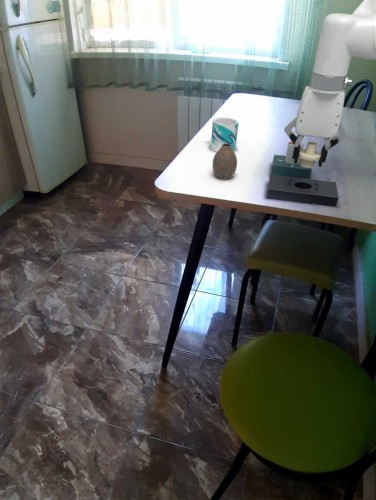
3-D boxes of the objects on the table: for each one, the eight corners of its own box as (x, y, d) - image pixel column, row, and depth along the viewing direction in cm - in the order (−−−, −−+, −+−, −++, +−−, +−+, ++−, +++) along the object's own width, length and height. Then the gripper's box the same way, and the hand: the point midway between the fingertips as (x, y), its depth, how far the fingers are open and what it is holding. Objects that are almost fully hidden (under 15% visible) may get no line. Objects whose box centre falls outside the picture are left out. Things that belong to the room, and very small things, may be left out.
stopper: (317, 162, 108) (323, 141, 104) (318, 170, 104) (324, 148, 100) (296, 160, 108) (300, 138, 105) (296, 168, 104) (301, 146, 101)
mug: (208, 150, 133) (210, 123, 127) (214, 139, 141) (217, 112, 136) (233, 153, 132) (236, 125, 126) (238, 141, 140) (241, 115, 135)
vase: (214, 181, 115) (217, 149, 109) (209, 172, 120) (211, 140, 114) (238, 181, 116) (242, 149, 110) (232, 171, 121) (235, 140, 115)
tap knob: (299, 159, 122) (304, 141, 118) (300, 165, 119) (304, 146, 115) (284, 158, 122) (288, 139, 119) (284, 163, 119) (288, 144, 116)
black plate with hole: (333, 190, 114) (335, 181, 112) (335, 206, 107) (338, 197, 105) (268, 183, 116) (270, 174, 114) (266, 198, 109) (268, 189, 107)
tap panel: (308, 168, 125) (311, 157, 123) (309, 180, 119) (311, 169, 117) (272, 164, 126) (274, 153, 124) (271, 175, 120) (273, 165, 118)
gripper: (363, 82, 95) (340, 161, 107) (289, 75, 97) (274, 154, 109) (367, 90, 90) (342, 172, 102) (289, 82, 91) (273, 164, 104)
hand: (307, 162), depth 106 cm, fingers closed on stopper, 5 cm apart
